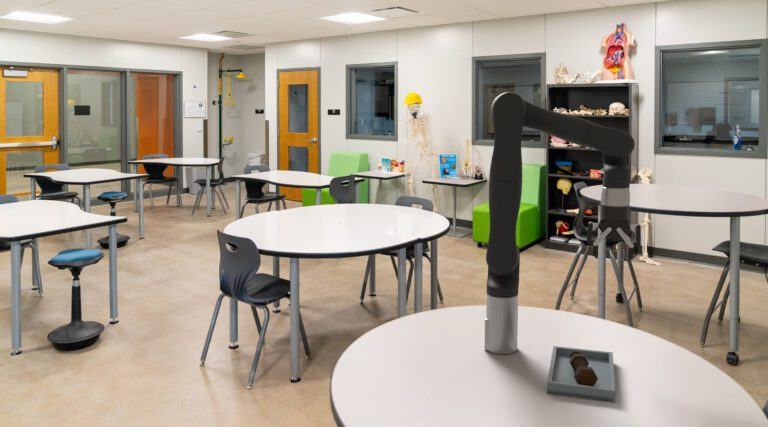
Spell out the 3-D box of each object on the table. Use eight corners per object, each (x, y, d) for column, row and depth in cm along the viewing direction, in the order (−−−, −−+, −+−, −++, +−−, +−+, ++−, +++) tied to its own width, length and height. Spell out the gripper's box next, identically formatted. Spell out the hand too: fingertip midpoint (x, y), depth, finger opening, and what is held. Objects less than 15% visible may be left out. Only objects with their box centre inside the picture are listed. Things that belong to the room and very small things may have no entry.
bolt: (578, 369, 166) (589, 393, 151) (562, 359, 166) (571, 382, 151) (589, 352, 165) (601, 374, 150) (573, 342, 165) (583, 364, 150)
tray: (546, 393, 151) (547, 382, 150) (553, 355, 173) (553, 345, 173) (614, 402, 146) (615, 391, 145) (612, 362, 168) (612, 352, 167)
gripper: (588, 204, 166) (585, 260, 169) (643, 206, 161) (640, 264, 164) (588, 200, 173) (586, 254, 176) (641, 201, 168) (638, 257, 171)
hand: (612, 259), depth 170 cm, fingers open, 8 cm apart
